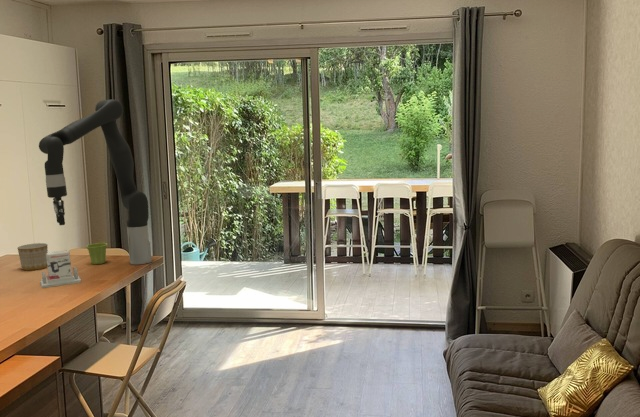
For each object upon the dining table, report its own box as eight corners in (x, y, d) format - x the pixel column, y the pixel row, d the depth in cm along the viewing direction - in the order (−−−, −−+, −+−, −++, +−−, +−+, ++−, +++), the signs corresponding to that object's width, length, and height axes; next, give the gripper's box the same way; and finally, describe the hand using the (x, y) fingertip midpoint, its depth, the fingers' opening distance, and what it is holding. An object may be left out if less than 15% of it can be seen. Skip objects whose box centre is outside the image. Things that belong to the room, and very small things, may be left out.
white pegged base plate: (78, 277, 278) (77, 265, 278) (81, 282, 269) (80, 270, 268) (40, 282, 272) (39, 270, 271) (41, 288, 262) (40, 275, 262)
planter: (55, 265, 305) (53, 243, 303) (35, 271, 293) (33, 249, 291) (34, 264, 309) (31, 242, 307) (13, 270, 297) (11, 248, 296)
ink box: (50, 282, 266) (47, 254, 264) (48, 280, 270) (45, 252, 269) (72, 279, 270) (69, 251, 269) (70, 277, 275) (67, 249, 273)
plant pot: (97, 266, 299) (95, 247, 298) (83, 264, 304) (81, 246, 303) (113, 261, 307) (111, 243, 306) (99, 260, 312) (98, 242, 310)
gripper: (67, 185, 266) (72, 224, 268) (63, 182, 278) (68, 220, 281) (48, 187, 262) (53, 227, 265) (44, 184, 275) (49, 222, 277)
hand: (61, 223), depth 273 cm, fingers open, 8 cm apart
